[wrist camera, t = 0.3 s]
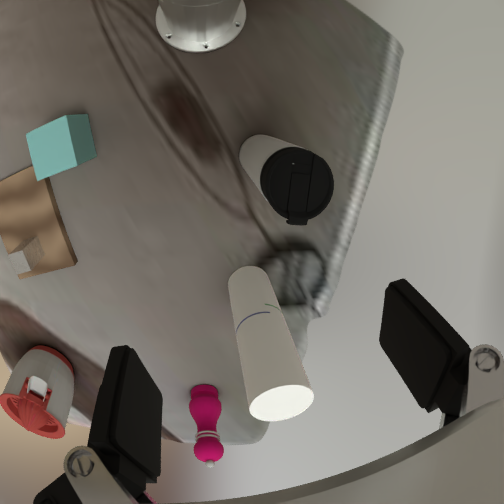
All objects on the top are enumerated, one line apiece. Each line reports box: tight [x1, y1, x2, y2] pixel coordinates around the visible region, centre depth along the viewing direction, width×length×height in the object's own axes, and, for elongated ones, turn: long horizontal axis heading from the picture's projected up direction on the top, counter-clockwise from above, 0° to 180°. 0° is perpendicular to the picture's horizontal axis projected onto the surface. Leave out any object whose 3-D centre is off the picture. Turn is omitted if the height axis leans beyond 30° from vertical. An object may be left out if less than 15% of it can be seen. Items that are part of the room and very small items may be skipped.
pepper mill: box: [189, 385, 224, 468], centre depth 54 cm, size 7×7×20 cm
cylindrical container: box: [228, 266, 314, 421], centre depth 40 cm, size 7×7×25 cm
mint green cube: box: [26, 114, 97, 181], centre depth 32 cm, size 7×7×8 cm
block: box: [8, 236, 45, 274], centre depth 37 cm, size 4×4×6 cm
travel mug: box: [239, 134, 334, 225], centre depth 33 cm, size 6×7×20 cm
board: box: [0, 166, 78, 279], centre depth 39 cm, size 18×14×2 cm
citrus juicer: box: [0, 345, 74, 439], centre depth 44 cm, size 16×17×20 cm
